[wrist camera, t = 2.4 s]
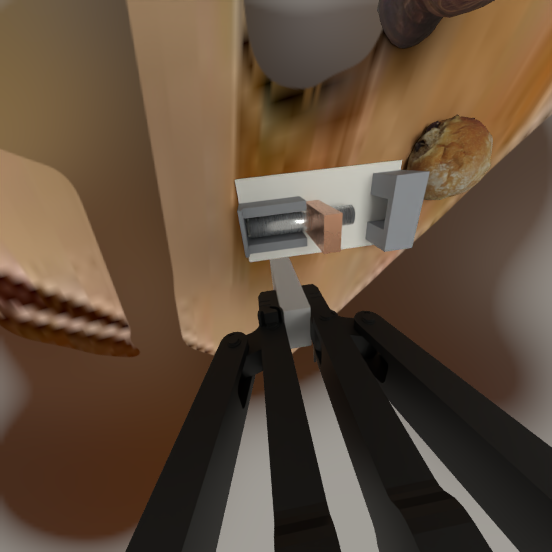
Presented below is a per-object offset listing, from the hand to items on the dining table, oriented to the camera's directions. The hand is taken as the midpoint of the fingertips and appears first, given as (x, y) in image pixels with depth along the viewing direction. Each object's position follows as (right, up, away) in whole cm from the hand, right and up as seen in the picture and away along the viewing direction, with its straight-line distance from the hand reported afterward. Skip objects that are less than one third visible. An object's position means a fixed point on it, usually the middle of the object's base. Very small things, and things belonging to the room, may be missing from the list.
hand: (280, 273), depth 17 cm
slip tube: (+3, +8, +14) cm, 16 cm away
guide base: (+6, +9, +15) cm, 19 cm away
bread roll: (+23, +17, +14) cm, 31 cm away
